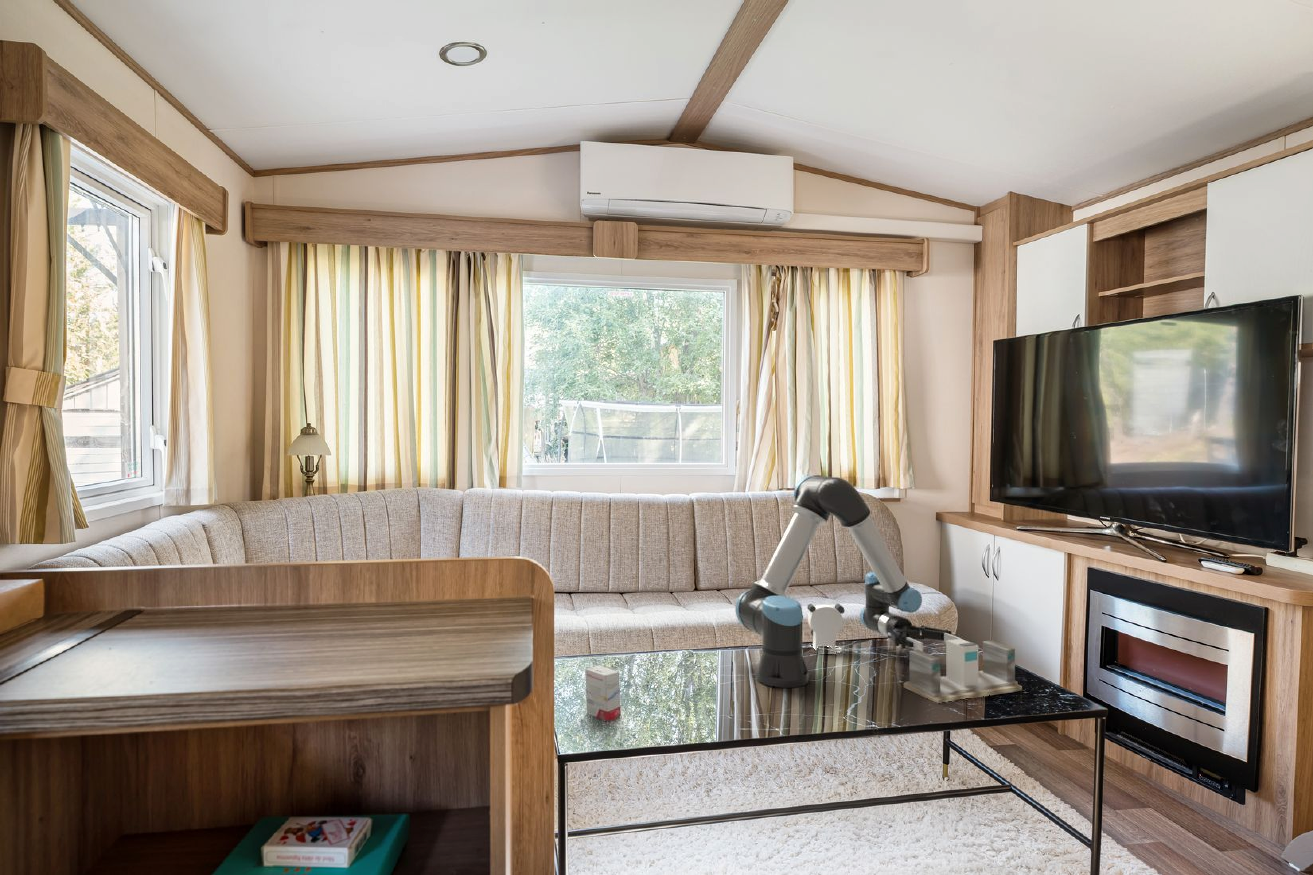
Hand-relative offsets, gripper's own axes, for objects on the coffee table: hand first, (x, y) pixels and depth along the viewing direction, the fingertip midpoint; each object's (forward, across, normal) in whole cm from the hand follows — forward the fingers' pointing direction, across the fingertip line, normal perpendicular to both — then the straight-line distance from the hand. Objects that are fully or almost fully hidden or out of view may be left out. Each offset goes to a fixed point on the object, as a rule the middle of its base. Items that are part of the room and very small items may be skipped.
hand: (941, 645), depth 222 cm
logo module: (+8, 0, -8) cm, 12 cm away
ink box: (-7, +100, -10) cm, 101 cm away
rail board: (+8, 0, -10) cm, 13 cm away
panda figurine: (-37, +16, -10) cm, 42 cm away
